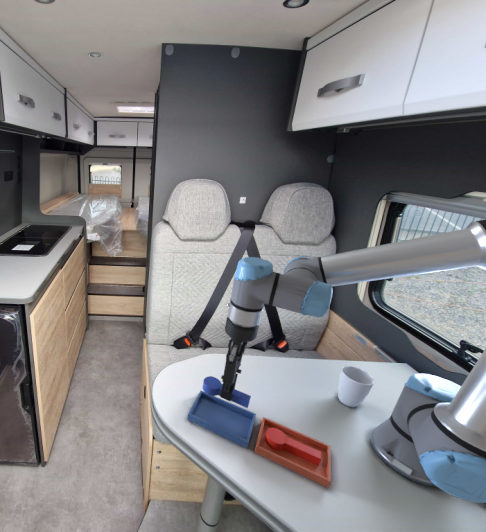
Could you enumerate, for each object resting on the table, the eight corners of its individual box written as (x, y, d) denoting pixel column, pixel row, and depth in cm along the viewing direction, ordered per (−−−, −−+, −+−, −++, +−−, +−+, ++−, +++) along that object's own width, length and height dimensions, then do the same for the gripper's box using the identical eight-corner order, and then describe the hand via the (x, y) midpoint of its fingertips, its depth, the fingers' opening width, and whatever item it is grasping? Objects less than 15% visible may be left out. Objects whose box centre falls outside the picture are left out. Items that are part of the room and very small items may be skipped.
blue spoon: (250, 399, 83) (252, 392, 82) (246, 411, 79) (248, 404, 78) (205, 380, 88) (206, 373, 87) (200, 390, 84) (201, 384, 83)
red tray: (328, 451, 79) (330, 445, 78) (328, 488, 70) (331, 482, 69) (261, 422, 86) (262, 416, 85) (254, 452, 77) (255, 446, 77)
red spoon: (318, 454, 77) (321, 447, 76) (318, 470, 73) (321, 463, 72) (266, 431, 83) (268, 424, 82) (263, 444, 79) (265, 438, 78)
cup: (368, 413, 91) (380, 387, 87) (338, 408, 92) (349, 381, 88) (356, 393, 98) (366, 368, 94) (328, 388, 100) (337, 363, 96)
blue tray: (254, 419, 87) (256, 413, 86) (246, 448, 78) (248, 442, 77) (199, 395, 94) (200, 390, 94) (187, 419, 86) (187, 414, 85)
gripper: (234, 303, 82) (220, 373, 91) (218, 329, 70) (204, 407, 79) (264, 311, 79) (247, 383, 87) (253, 340, 66) (234, 421, 75)
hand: (226, 394), depth 83 cm, fingers closed on blue spoon, 2 cm apart
